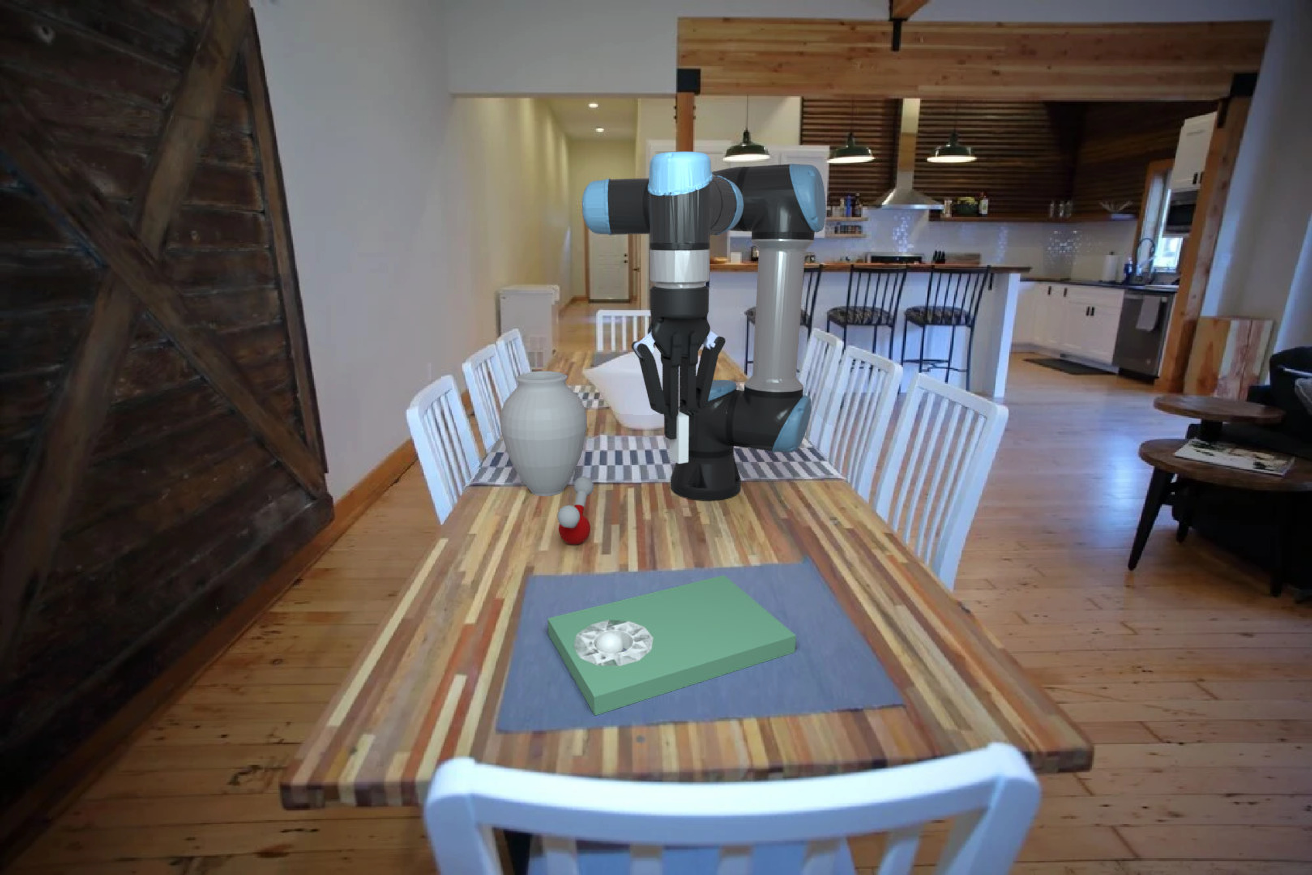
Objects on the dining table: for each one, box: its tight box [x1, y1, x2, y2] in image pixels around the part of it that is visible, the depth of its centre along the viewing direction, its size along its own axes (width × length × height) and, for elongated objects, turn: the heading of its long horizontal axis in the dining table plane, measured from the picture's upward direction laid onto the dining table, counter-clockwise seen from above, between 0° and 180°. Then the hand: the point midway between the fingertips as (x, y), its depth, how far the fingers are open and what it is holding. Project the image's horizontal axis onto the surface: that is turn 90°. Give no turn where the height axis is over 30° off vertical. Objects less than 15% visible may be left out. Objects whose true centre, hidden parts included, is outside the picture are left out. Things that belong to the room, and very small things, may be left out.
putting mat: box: [547, 574, 797, 716], centre depth 90 cm, size 28×18×2 cm, turn 116°
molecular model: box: [556, 476, 595, 546], centre depth 118 cm, size 18×6×10 cm, turn 175°
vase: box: [499, 370, 588, 497], centre depth 140 cm, size 18×18×25 cm
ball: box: [596, 632, 624, 654], centre depth 86 cm, size 4×4×4 cm
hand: (678, 459), depth 92 cm, fingers closed
